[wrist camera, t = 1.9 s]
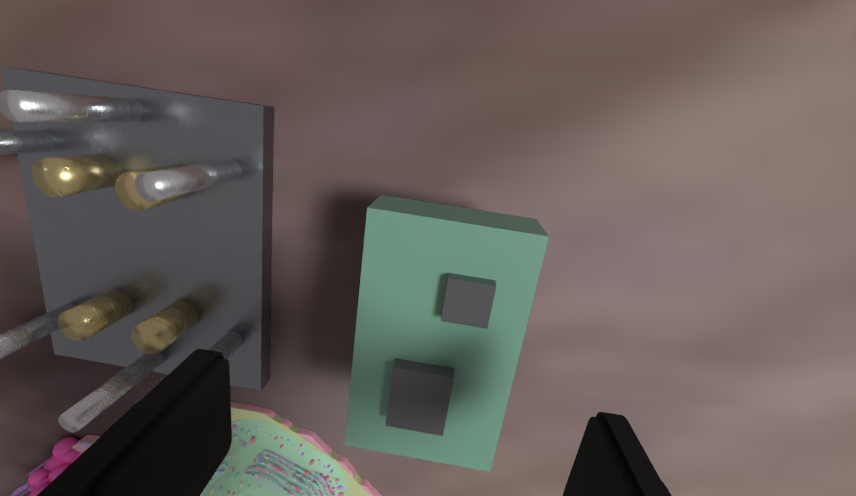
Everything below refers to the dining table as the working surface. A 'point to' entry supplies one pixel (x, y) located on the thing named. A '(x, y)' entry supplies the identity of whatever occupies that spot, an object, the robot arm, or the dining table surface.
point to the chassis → (143, 227)
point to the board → (439, 328)
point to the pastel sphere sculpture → (246, 461)
